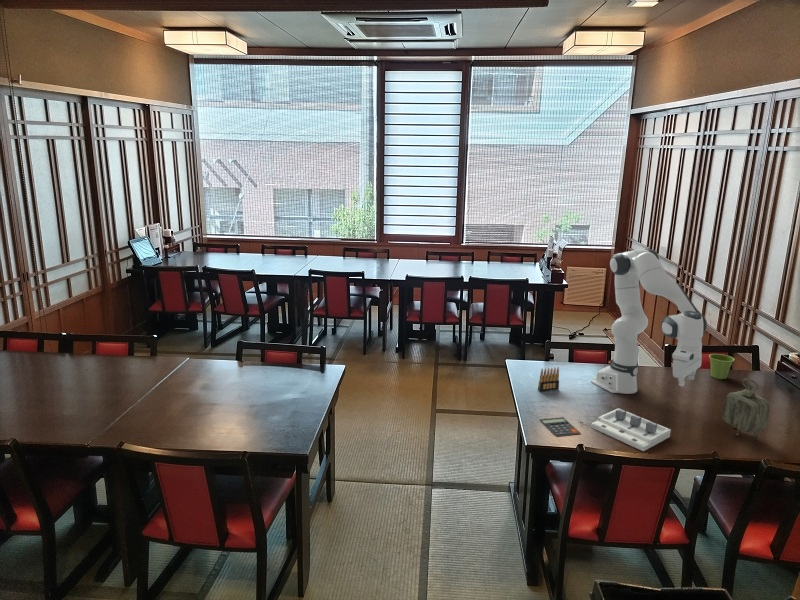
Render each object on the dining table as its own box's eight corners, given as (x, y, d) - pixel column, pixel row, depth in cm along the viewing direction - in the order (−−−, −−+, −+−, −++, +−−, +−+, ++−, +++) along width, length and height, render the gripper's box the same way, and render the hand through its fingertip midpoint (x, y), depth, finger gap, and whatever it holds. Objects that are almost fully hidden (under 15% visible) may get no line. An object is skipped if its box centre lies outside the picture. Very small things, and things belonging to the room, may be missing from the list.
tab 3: (645, 430, 222) (646, 422, 221) (649, 428, 224) (650, 420, 223) (652, 433, 219) (653, 425, 218) (656, 431, 221) (657, 422, 220)
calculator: (555, 435, 221) (539, 419, 235) (555, 437, 221) (539, 420, 235) (581, 433, 223) (563, 416, 238) (580, 435, 224) (563, 418, 238)
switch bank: (591, 427, 229) (591, 419, 228) (617, 415, 241) (618, 408, 240) (643, 451, 211) (644, 443, 210) (669, 437, 222) (670, 429, 221)
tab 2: (629, 424, 227) (630, 415, 226) (633, 422, 229) (635, 413, 228) (636, 427, 225) (637, 418, 224) (640, 425, 227) (641, 416, 226)
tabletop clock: (764, 441, 220) (775, 385, 213) (748, 444, 217) (759, 388, 210) (732, 425, 233) (742, 372, 226) (717, 428, 230) (726, 374, 224)
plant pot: (726, 374, 290) (730, 354, 287) (734, 382, 279) (738, 362, 276) (702, 371, 293) (705, 352, 290) (709, 380, 281) (713, 360, 279)
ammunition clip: (556, 388, 269) (558, 366, 266) (558, 389, 267) (560, 367, 264) (537, 390, 266) (539, 367, 263) (539, 391, 264) (541, 369, 261)
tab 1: (615, 418, 233) (616, 409, 232) (619, 416, 235) (620, 407, 234) (621, 420, 230) (622, 412, 229) (625, 418, 232) (626, 410, 231)
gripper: (691, 343, 226) (688, 373, 229) (670, 355, 213) (668, 387, 216) (707, 346, 221) (704, 377, 224) (687, 358, 208) (684, 391, 211)
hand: (686, 382), depth 220 cm, fingers open, 8 cm apart
